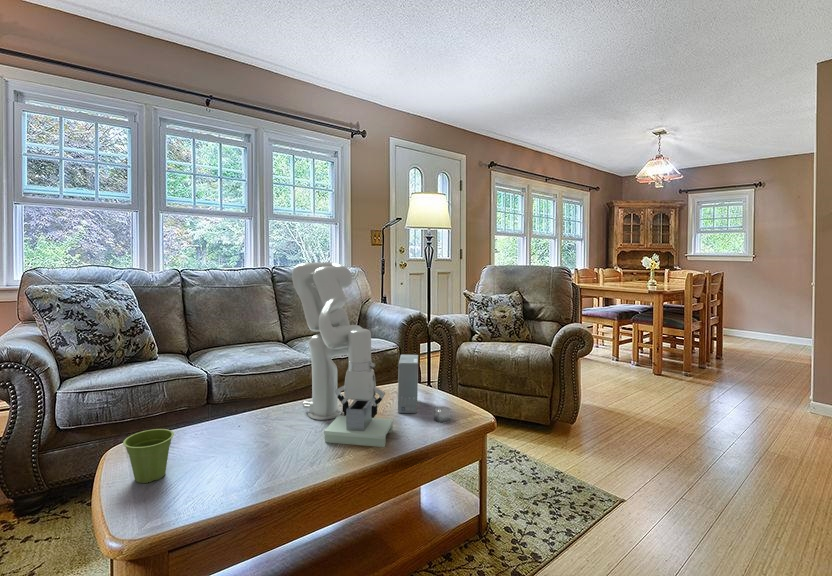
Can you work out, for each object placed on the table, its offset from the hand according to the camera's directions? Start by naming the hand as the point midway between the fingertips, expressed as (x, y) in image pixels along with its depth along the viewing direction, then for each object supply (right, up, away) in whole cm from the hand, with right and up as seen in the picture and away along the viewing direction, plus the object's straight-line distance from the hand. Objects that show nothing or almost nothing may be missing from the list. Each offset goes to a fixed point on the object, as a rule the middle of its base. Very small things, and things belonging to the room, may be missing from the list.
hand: (359, 415), depth 146 cm
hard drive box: (+16, -5, +29) cm, 34 cm away
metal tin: (+29, -6, +16) cm, 34 cm away
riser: (0, -7, +1) cm, 7 cm away
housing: (0, -3, 0) cm, 3 cm away
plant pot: (-54, -9, -27) cm, 61 cm away
